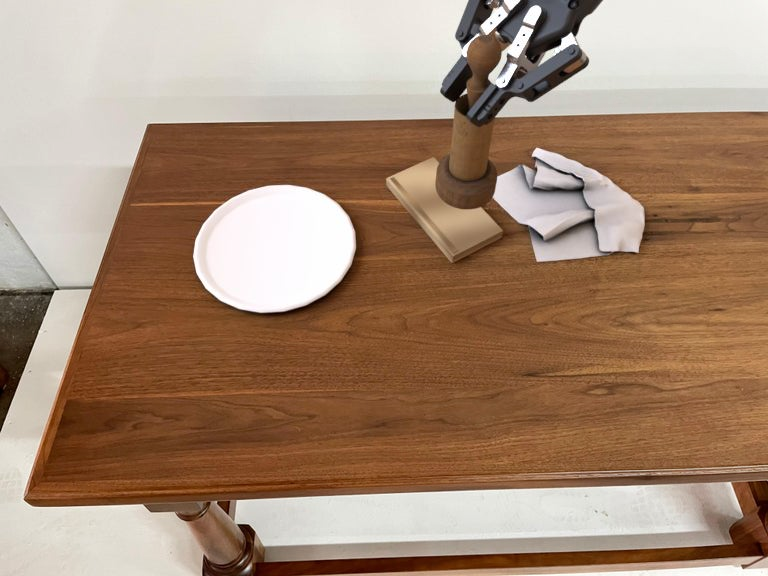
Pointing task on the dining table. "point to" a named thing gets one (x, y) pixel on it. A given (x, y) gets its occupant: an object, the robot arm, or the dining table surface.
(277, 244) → the plate
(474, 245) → the cutting board
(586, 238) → the cloth
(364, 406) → the dining table surface
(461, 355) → the dining table surface
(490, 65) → the mortar and pestle
